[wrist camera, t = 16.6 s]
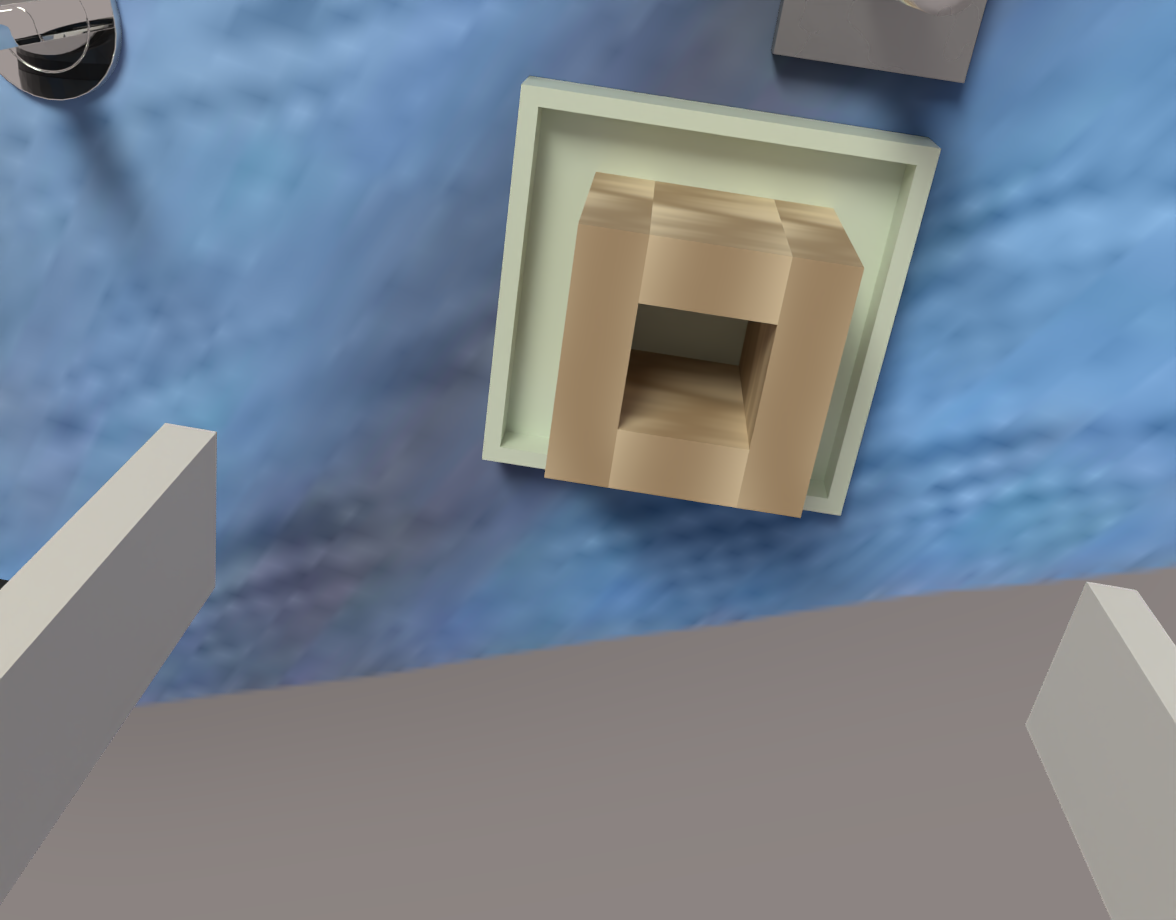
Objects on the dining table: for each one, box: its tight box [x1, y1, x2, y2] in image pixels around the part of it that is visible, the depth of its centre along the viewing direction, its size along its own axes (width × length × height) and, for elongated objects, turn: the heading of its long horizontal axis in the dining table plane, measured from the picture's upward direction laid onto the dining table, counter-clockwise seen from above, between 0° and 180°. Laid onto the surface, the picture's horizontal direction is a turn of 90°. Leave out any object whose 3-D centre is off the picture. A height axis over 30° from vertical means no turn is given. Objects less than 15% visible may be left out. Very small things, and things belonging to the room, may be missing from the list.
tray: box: [482, 76, 941, 516], centre depth 38 cm, size 13×13×2 cm
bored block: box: [544, 172, 864, 518], centre depth 36 cm, size 8×8×7 cm
